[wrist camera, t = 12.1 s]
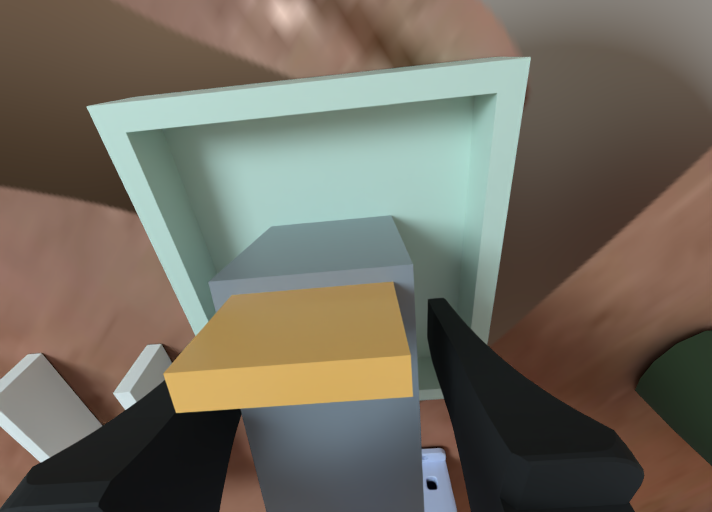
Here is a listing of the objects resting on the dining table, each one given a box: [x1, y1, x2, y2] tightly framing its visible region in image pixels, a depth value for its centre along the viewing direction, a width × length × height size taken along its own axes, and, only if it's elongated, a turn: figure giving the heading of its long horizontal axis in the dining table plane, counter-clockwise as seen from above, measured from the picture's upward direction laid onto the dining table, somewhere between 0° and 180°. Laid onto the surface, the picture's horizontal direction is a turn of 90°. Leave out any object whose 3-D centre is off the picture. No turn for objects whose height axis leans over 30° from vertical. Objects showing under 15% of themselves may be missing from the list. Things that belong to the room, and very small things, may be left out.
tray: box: [87, 57, 531, 400], centre depth 14 cm, size 13×15×2 cm
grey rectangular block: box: [163, 215, 424, 512], centre depth 11 cm, size 5×9×9 cm, turn 6°
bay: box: [0, 344, 172, 462], centre depth 18 cm, size 8×10×6 cm
